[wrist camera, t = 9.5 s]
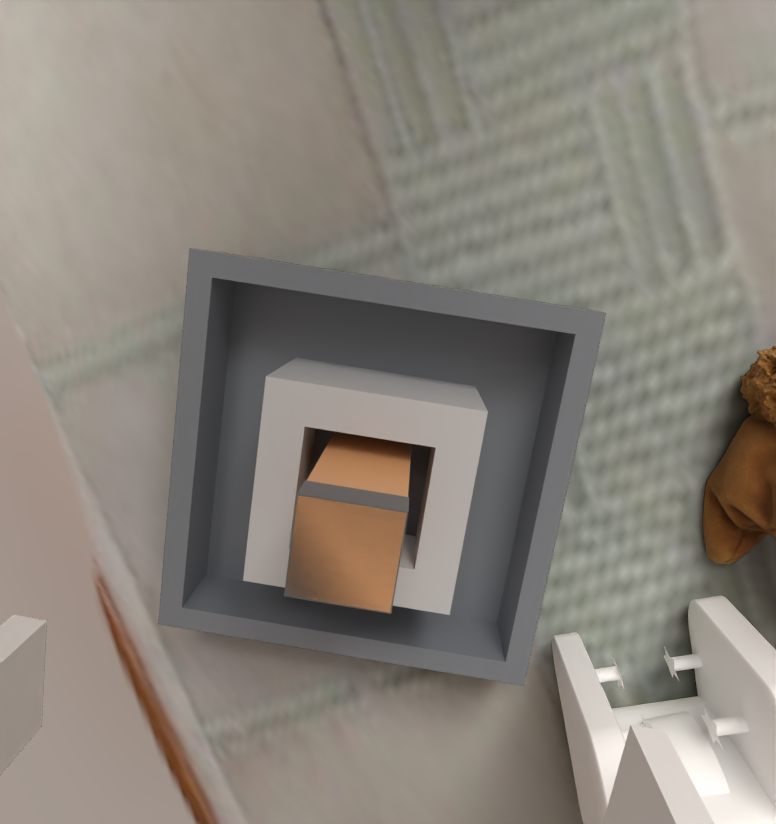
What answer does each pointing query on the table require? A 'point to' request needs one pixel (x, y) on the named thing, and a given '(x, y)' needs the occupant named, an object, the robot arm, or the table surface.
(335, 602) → the plug
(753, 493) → the stuffed squirrel
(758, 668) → the cable organizer
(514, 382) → the box
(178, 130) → the table surface
